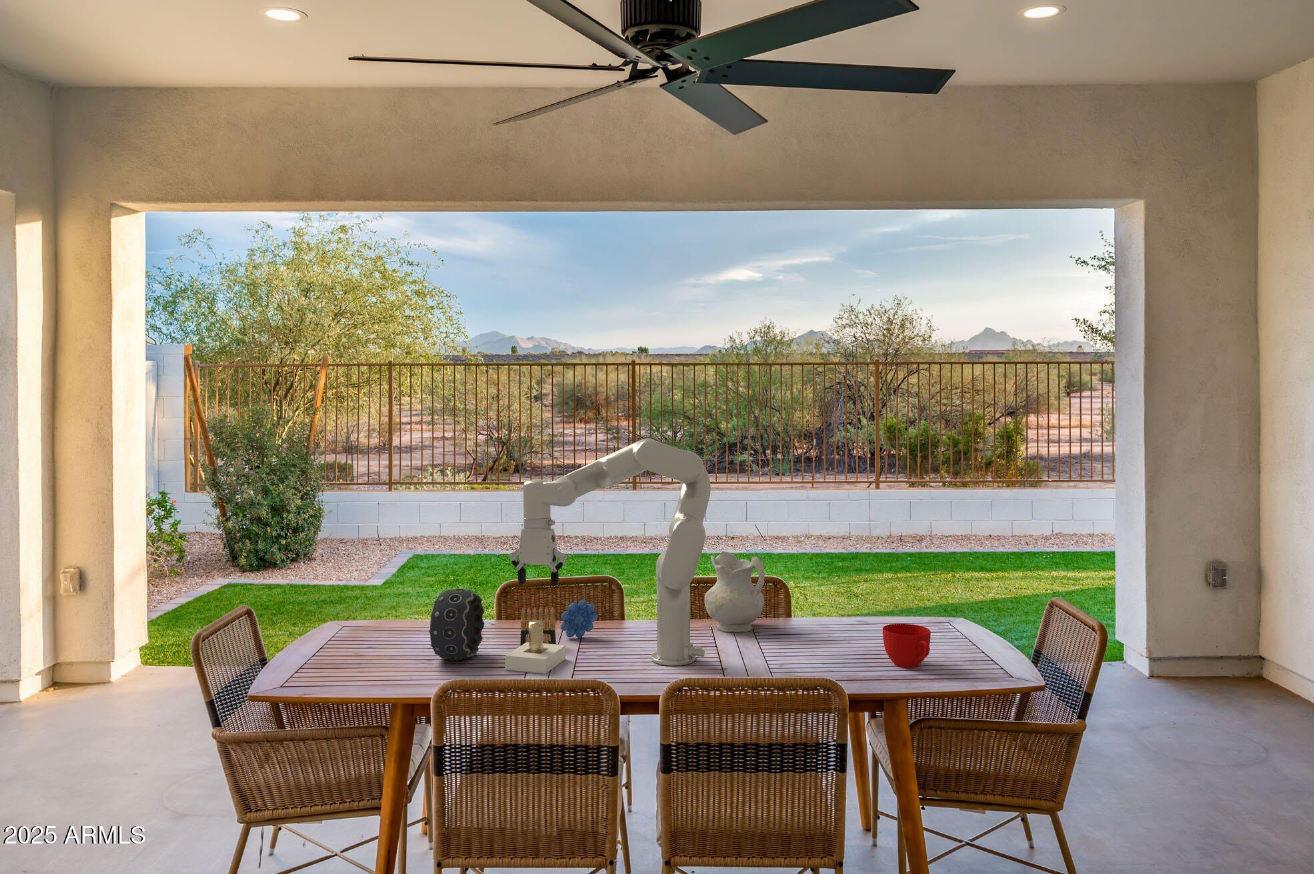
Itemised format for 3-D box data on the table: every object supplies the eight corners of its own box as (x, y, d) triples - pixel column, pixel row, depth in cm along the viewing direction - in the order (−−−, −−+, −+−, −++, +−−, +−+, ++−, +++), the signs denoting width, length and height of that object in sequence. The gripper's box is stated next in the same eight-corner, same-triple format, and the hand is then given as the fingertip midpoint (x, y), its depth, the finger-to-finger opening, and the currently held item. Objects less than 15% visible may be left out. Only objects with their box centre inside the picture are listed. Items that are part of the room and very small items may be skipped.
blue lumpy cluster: (595, 633, 273) (595, 596, 273) (598, 638, 267) (598, 600, 266) (559, 635, 271) (559, 597, 271) (561, 640, 265) (560, 602, 264)
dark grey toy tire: (427, 668, 237) (426, 596, 236) (451, 648, 257) (451, 582, 256) (464, 669, 236) (464, 597, 235) (486, 649, 256) (486, 582, 255)
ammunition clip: (520, 647, 258) (519, 608, 257) (520, 645, 259) (520, 606, 259) (555, 646, 258) (555, 607, 258) (556, 645, 260) (555, 606, 259)
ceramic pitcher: (779, 630, 281) (781, 554, 282) (753, 639, 264) (756, 558, 265) (721, 622, 292) (723, 549, 293) (693, 630, 276) (695, 552, 277)
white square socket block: (565, 659, 245) (565, 645, 245) (545, 673, 232) (545, 659, 232) (527, 655, 249) (527, 642, 249) (505, 669, 235) (505, 655, 235)
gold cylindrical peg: (545, 662, 242) (545, 620, 241) (539, 667, 238) (539, 624, 238) (532, 661, 243) (532, 619, 242) (526, 665, 239) (526, 623, 239)
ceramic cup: (906, 678, 228) (907, 640, 227) (873, 660, 244) (873, 625, 244) (948, 673, 231) (949, 637, 231) (913, 656, 248) (913, 622, 247)
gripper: (571, 523, 241) (571, 583, 242) (514, 521, 246) (515, 580, 246) (560, 526, 234) (561, 588, 234) (503, 525, 238) (504, 585, 239)
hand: (538, 584), depth 240 cm, fingers open, 9 cm apart
